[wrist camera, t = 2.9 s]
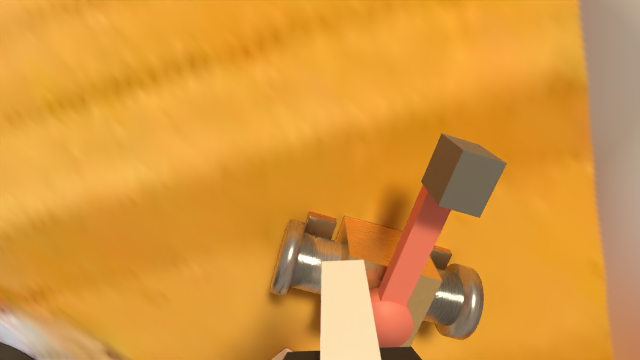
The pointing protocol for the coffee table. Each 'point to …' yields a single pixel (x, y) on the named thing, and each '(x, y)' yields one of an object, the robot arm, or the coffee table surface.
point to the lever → (431, 227)
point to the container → (281, 354)
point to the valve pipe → (380, 271)
